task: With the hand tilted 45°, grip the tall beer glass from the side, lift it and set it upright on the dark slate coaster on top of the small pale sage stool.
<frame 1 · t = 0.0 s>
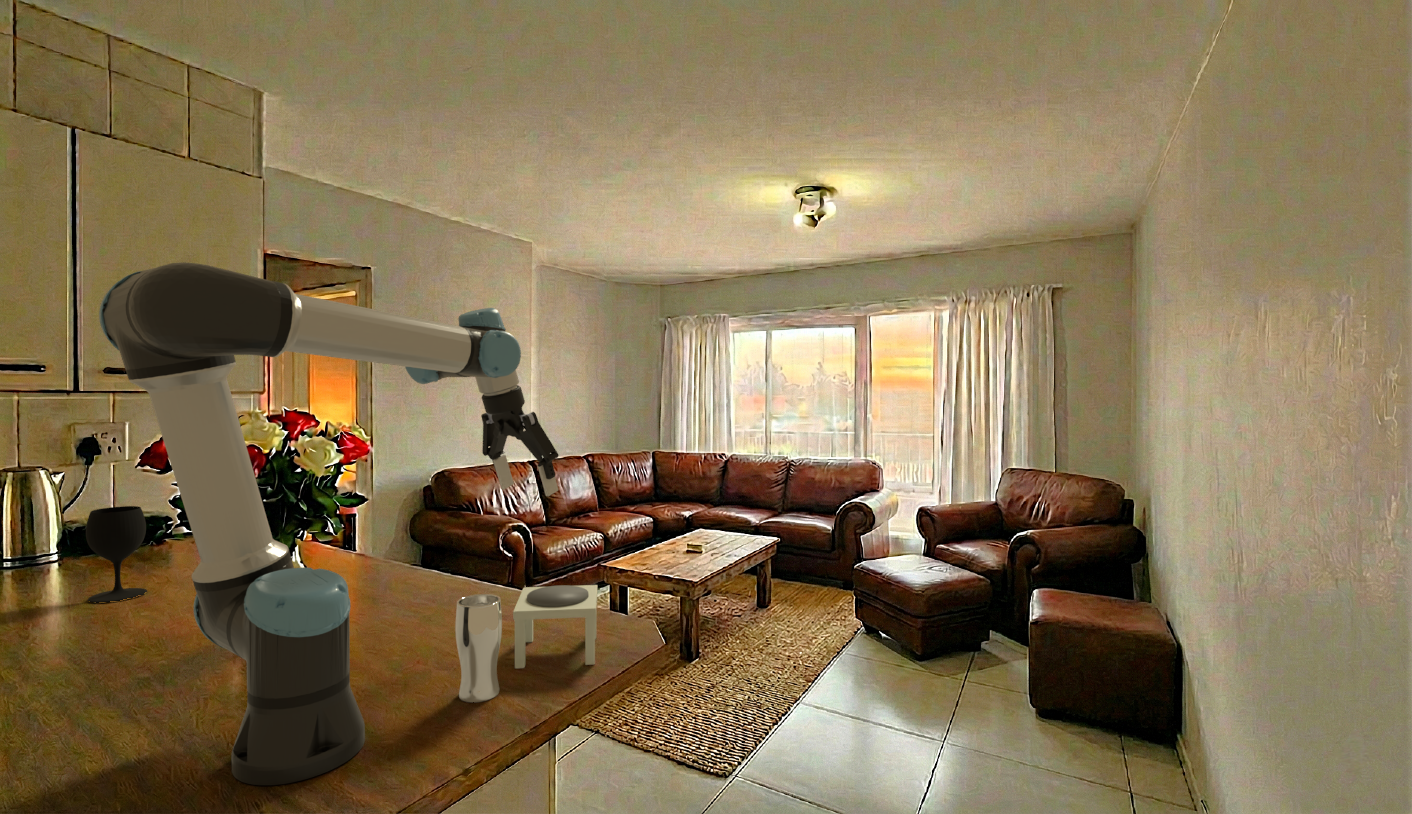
hand: (529, 489, 137), 28 cm above the table, tool tilted 20°, fingers open, 13 cm apart
stool: (558, 651, 125), on the table
beer glass: (479, 695, 108), on the table
wine glass: (118, 597, 156), on the table
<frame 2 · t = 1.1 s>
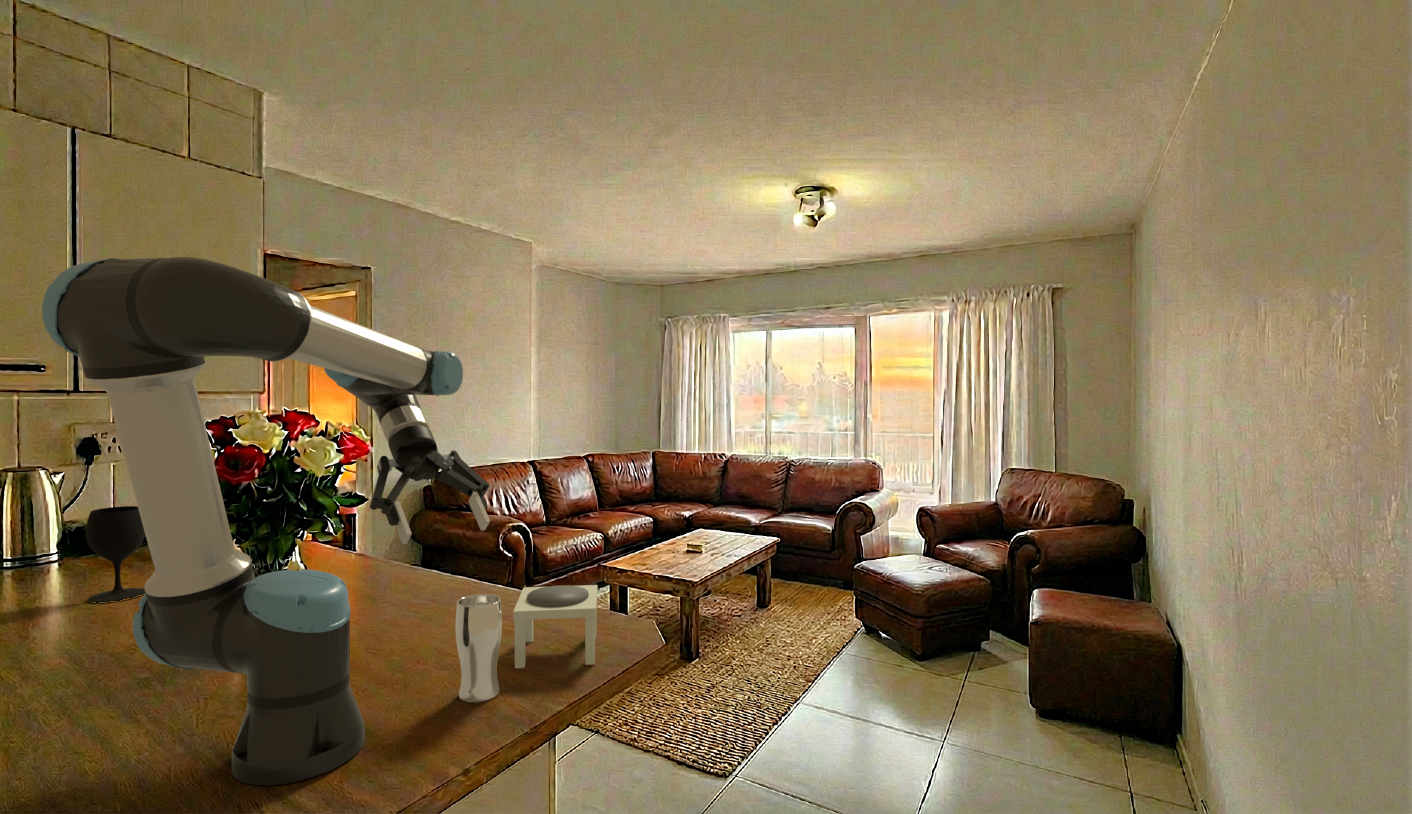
hand: (448, 532, 114), 24 cm above the table, tool tilted 45°, fingers open, 13 cm apart
nothing on the table moved.
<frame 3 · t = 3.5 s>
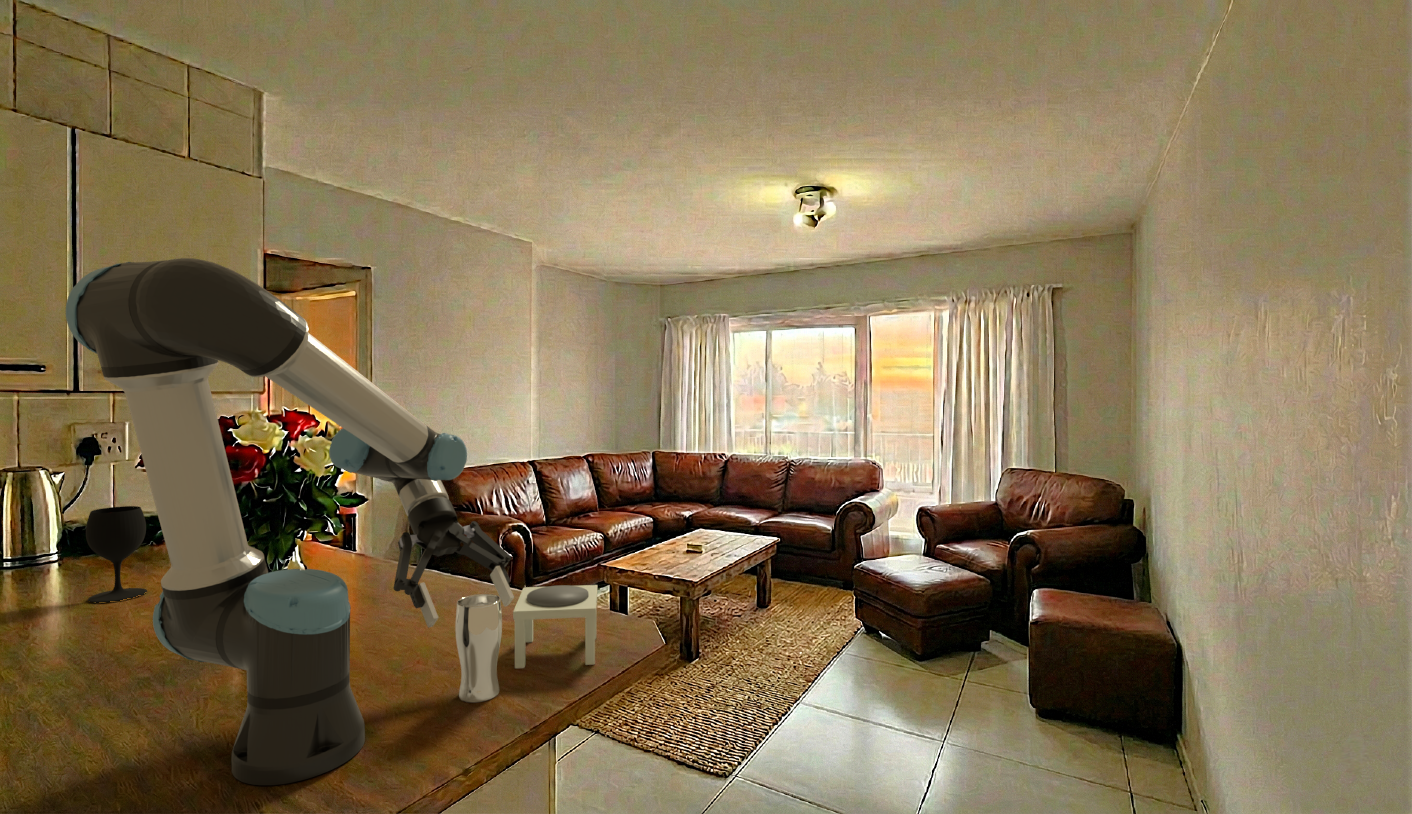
hand: (473, 612, 112), 12 cm above the table, tool tilted 45°, fingers open, 13 cm apart
nothing on the table moved.
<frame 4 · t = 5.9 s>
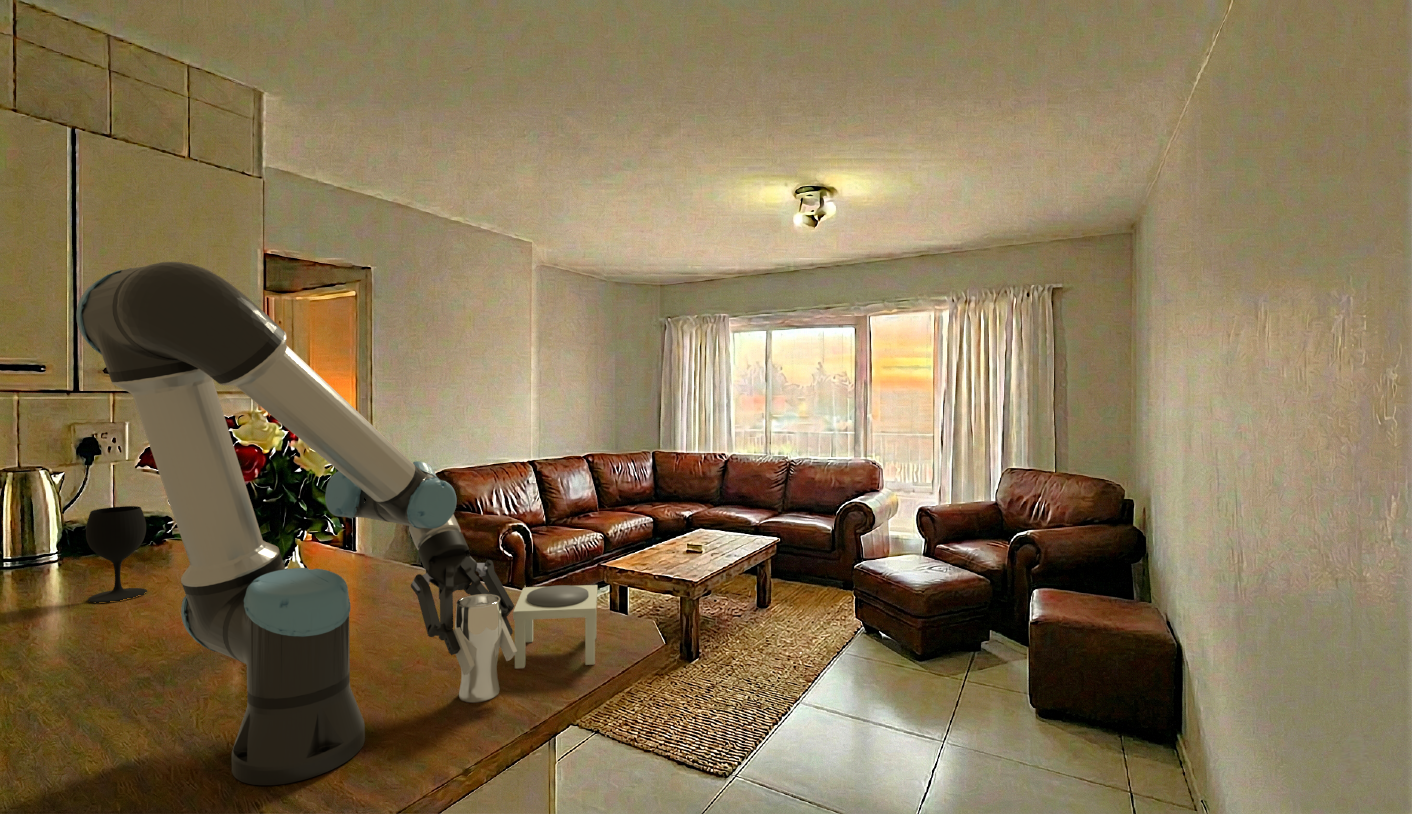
hand: (491, 662, 105), 6 cm above the table, tool tilted 45°, fingers closed on beer glass, 7 cm apart
beer glass: (479, 695, 108), on the table, touching gripper
everything else where it was.
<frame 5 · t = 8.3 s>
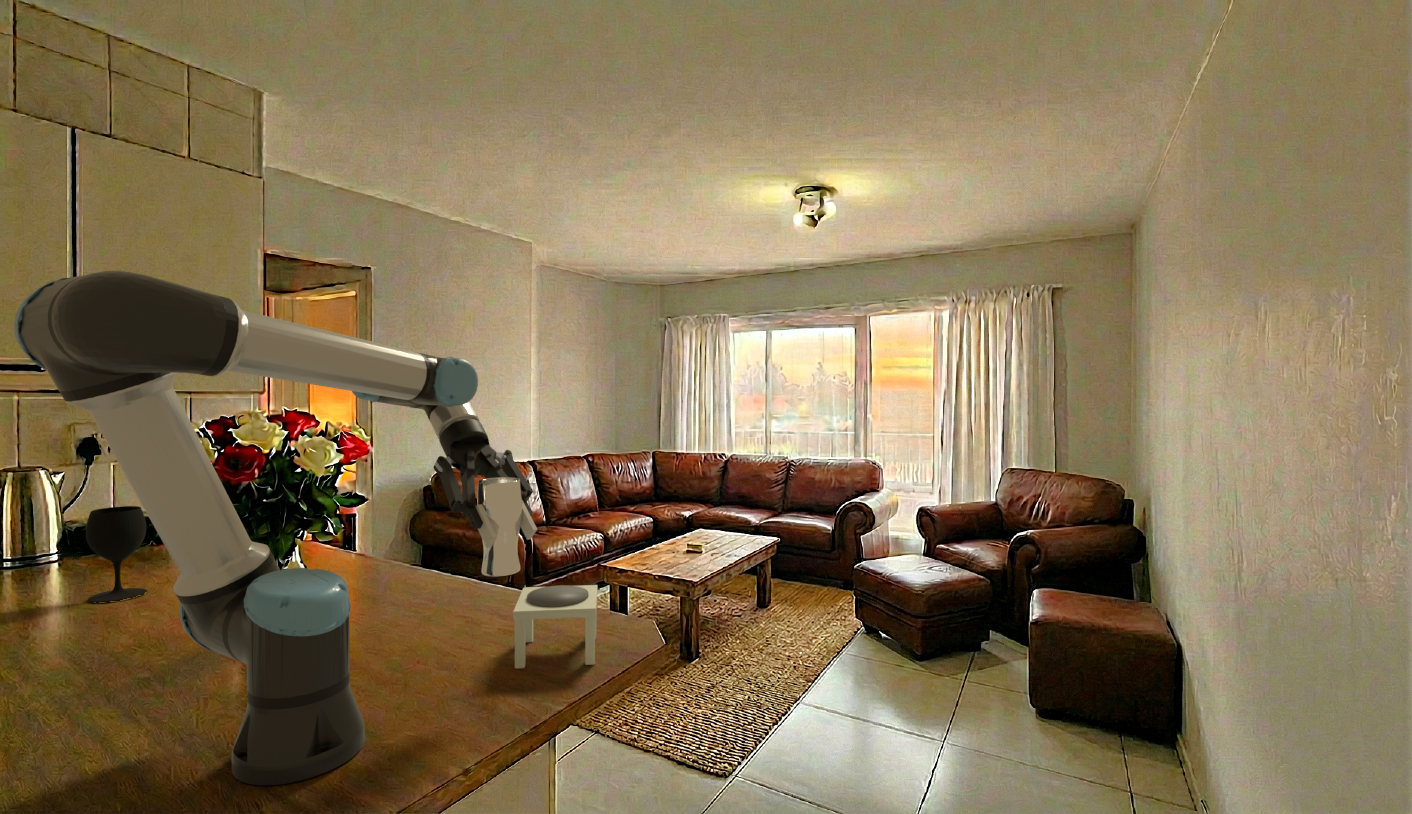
hand: (512, 538, 109), 24 cm above the table, tool tilted 45°, fingers closed on beer glass, 7 cm apart
beer glass: (501, 572, 112), point 18 cm above the table, touching gripper
everything else where it was.
when the fingers open (18 cm above the table, at t = 10.6 s): beer glass drops 1 cm, resting on stool.
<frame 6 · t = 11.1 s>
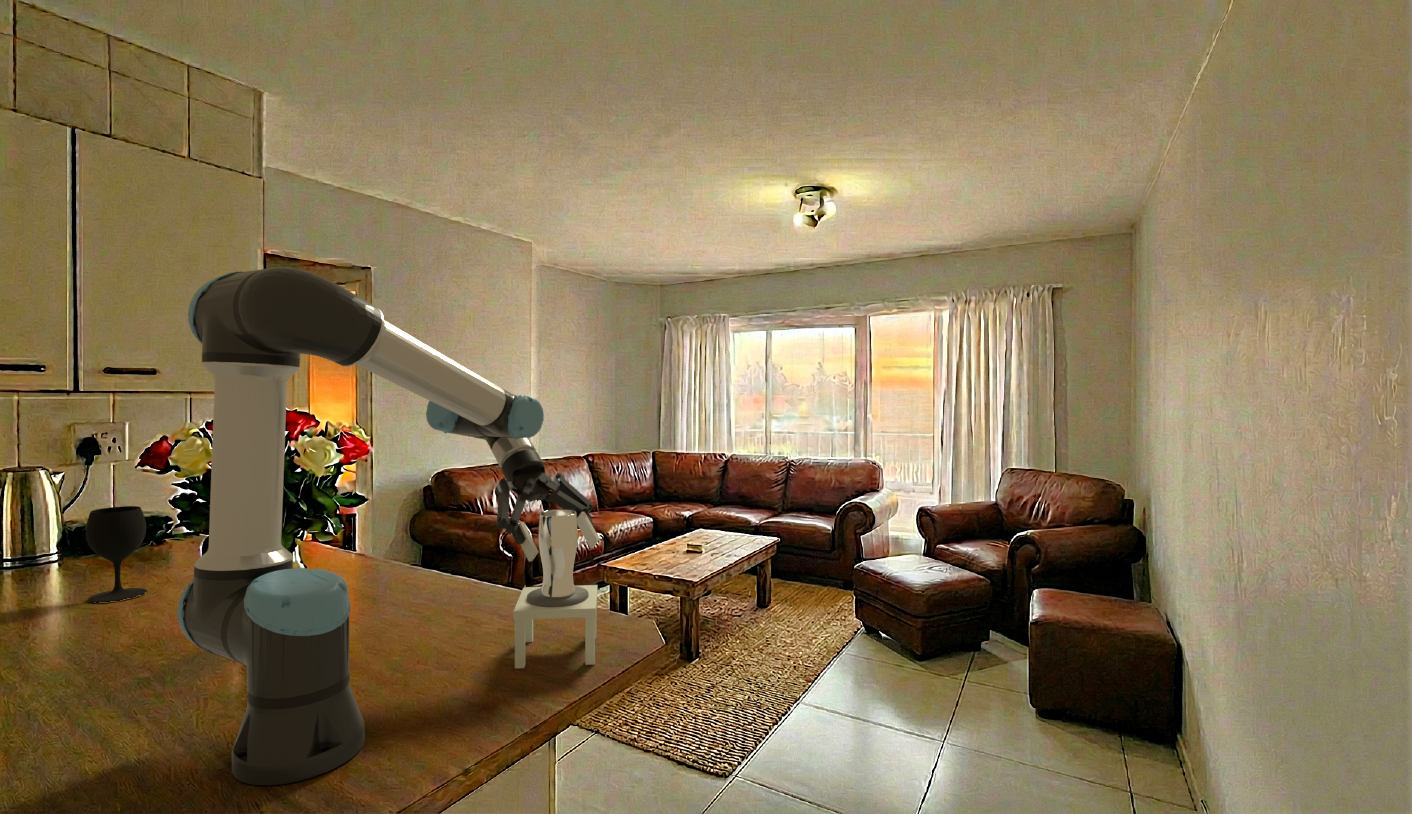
hand: (565, 550, 123), 19 cm above the table, tool tilted 45°, fingers open, 13 cm apart
beer glass: (558, 594, 125), point 10 cm above the table, touching stool
everything else where it was.
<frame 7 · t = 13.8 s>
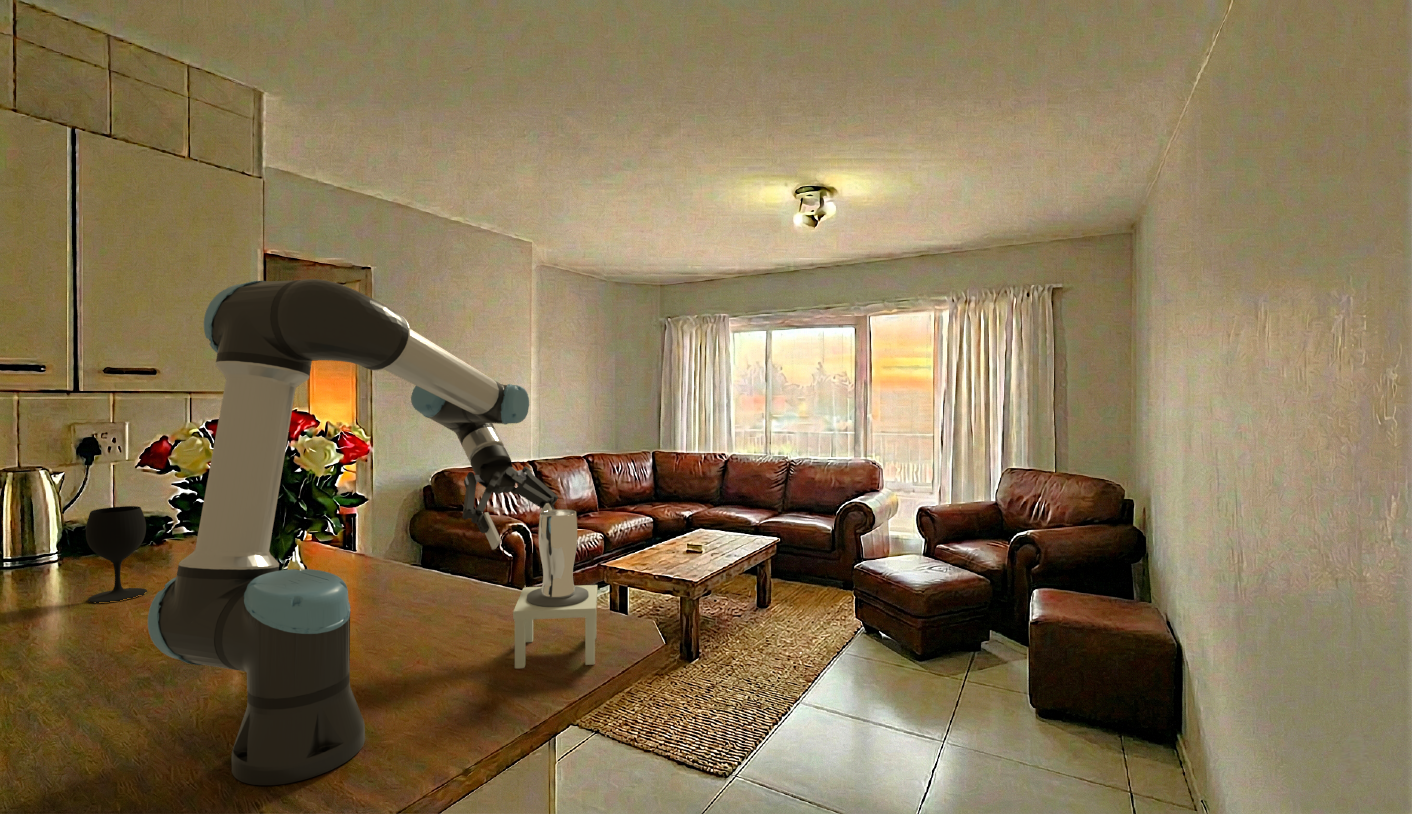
hand: (528, 538, 131), 19 cm above the table, tool tilted 45°, fingers open, 13 cm apart
nothing on the table moved.
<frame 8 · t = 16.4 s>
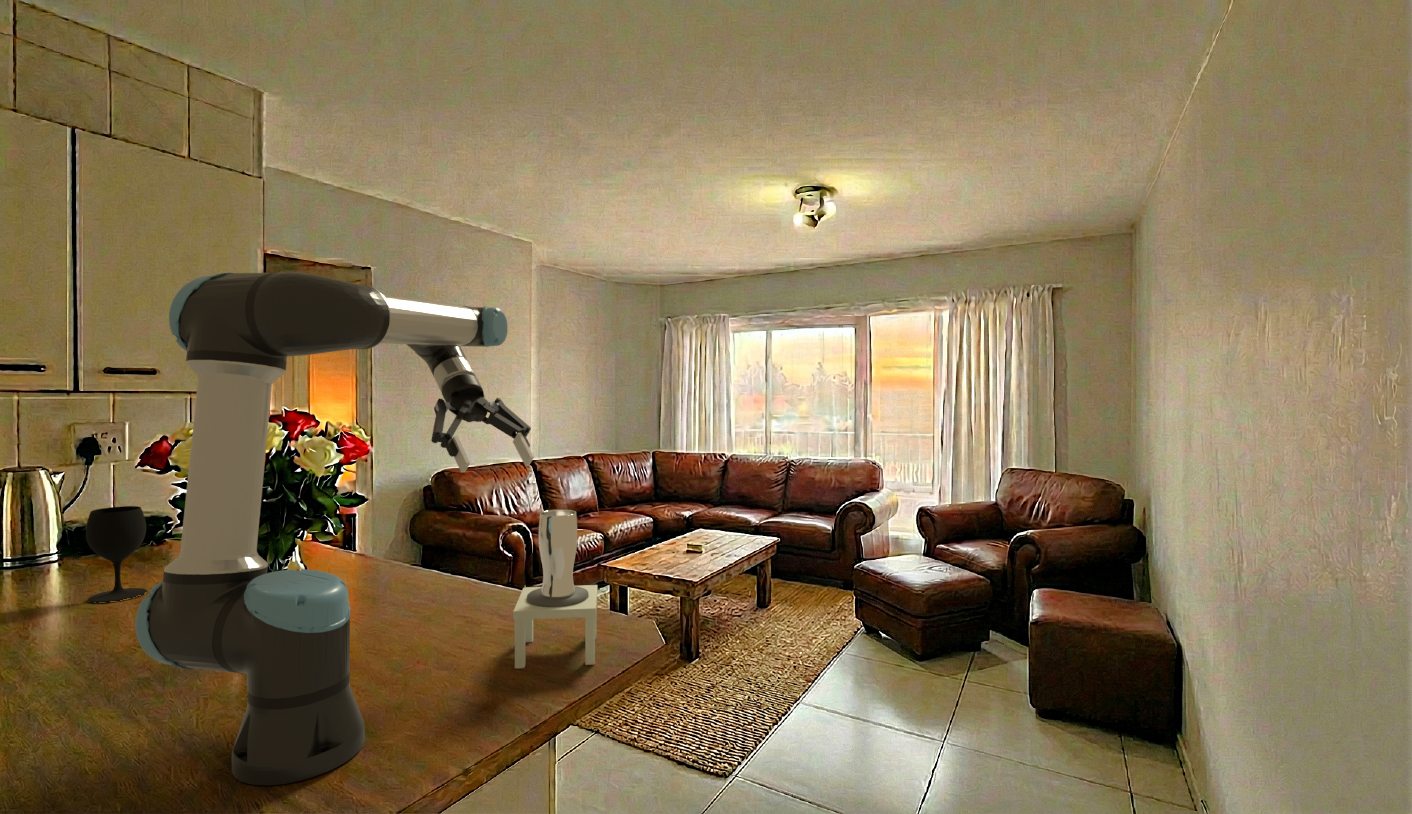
hand: (499, 464, 130), 34 cm above the table, tool tilted 45°, fingers open, 13 cm apart
nothing on the table moved.
at the end: beer glass inside the target area on the stool (0.1 cm from its centre), point 10.4 cm above the stool's base; beer glass tilted 0°; the gripper is holding nothing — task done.
